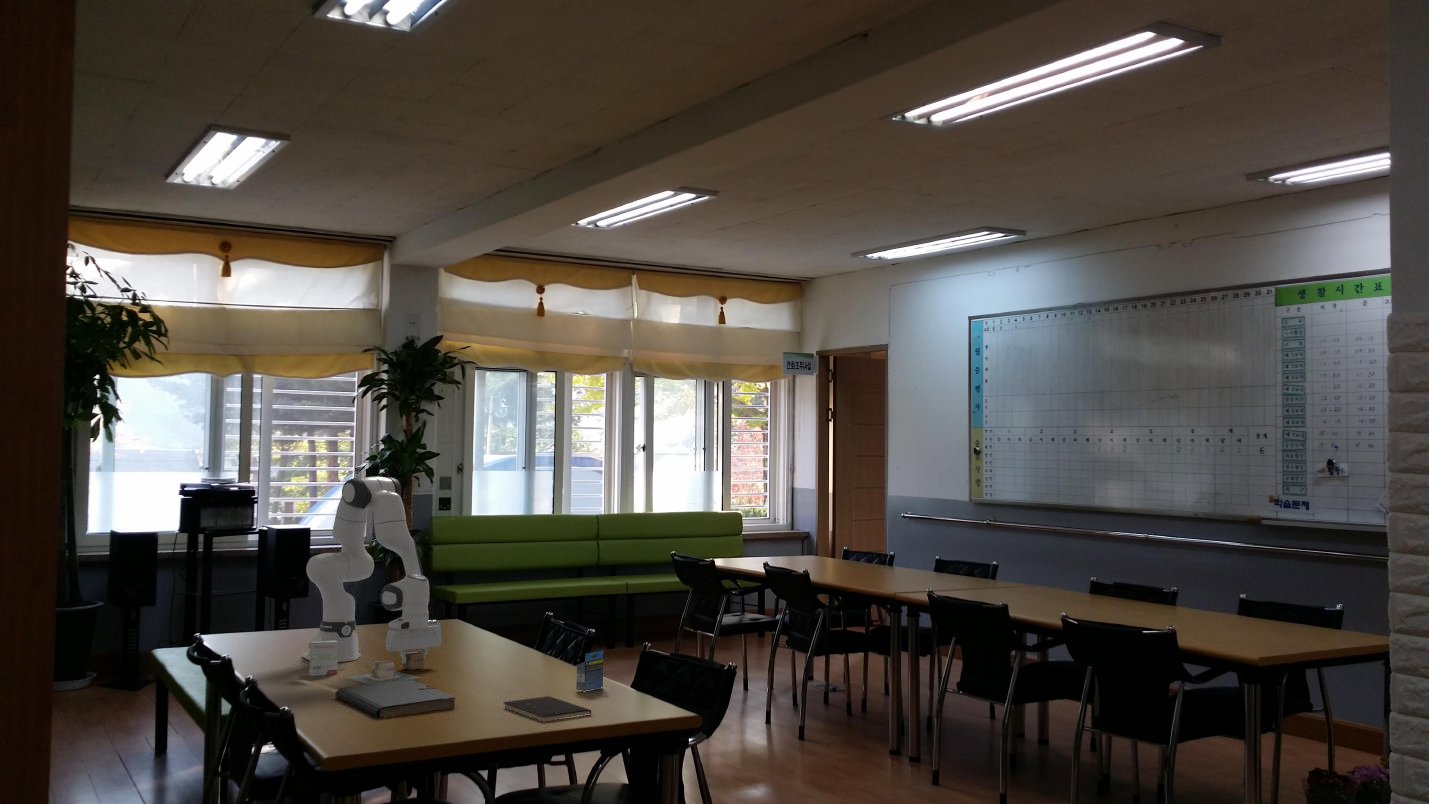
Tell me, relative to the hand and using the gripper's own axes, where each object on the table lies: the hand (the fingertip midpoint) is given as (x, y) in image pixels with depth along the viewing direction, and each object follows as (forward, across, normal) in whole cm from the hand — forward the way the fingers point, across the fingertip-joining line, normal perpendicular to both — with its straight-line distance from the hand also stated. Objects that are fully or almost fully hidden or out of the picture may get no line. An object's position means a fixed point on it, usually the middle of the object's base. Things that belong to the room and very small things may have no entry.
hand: (413, 662), depth 375 cm
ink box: (+4, +27, -12) cm, 30 cm away
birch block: (+2, +16, +7) cm, 18 cm away
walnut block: (+2, 0, 0) cm, 2 cm away
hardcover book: (+3, +6, +81) cm, 82 cm away
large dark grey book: (+4, +32, +41) cm, 52 cm away
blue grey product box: (+3, -24, +66) cm, 70 cm away
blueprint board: (+3, +16, +7) cm, 18 cm away
